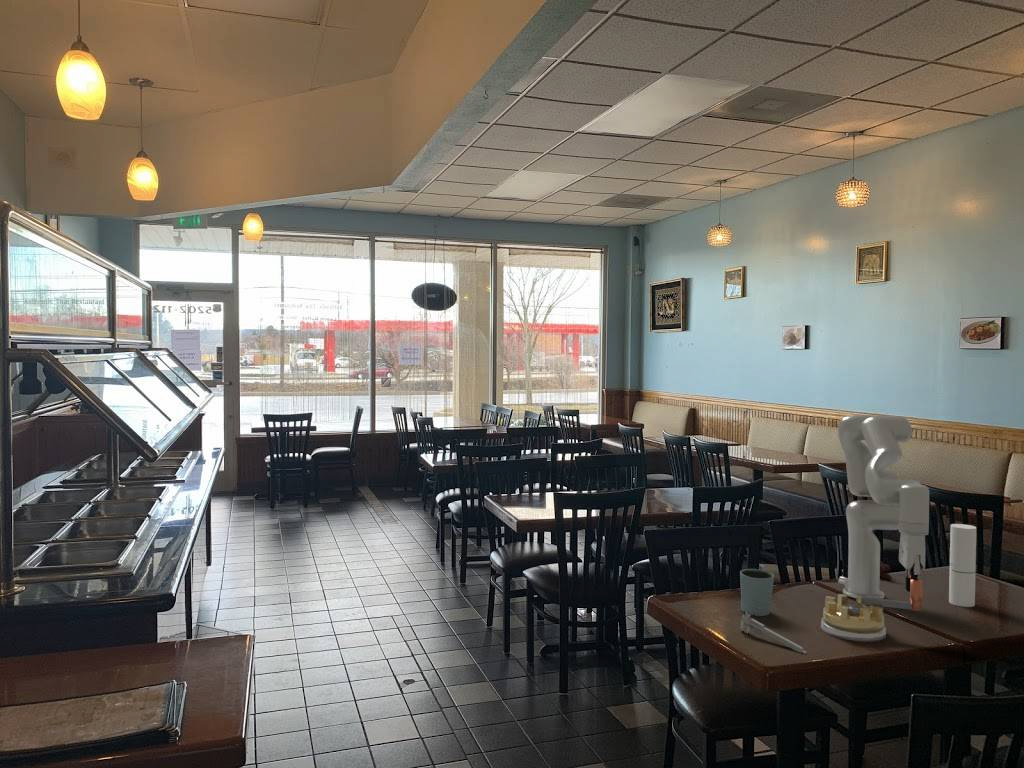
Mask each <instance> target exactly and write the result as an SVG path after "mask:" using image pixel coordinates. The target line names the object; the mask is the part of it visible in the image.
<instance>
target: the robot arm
mask: <svg viewBox="0 0 1024 768" xmlns="http://www.w3.org/2000/svg"><path fill="white" fill-rule="evenodd" d="M911 424H912V423H910V421H909V420H908V419H907V418H906V417H905V416H901V415H896V416H895V415H888V414H887V415H886V414H885V415H884V414H881V415H877V414H876V415H875V414H871V415H870V414H852V415H846V416H843V417H842V418H841V419H840V421H839V423H838V427H837V431H838V432H837V434H838V439H839V443H840V445H841V447H842V450H843V453H844V456H845V465H846V466H845V468H846V477H847V485H848V486H847V487H848V490H849V492H850V493H851V494H852V495H854V496H857V497H870V498H871V499H872V500H870V499H869V500H867V499H866V500H865V499H861V500H860V499H859V500H854V501H851V502H850V503H848V504H847V506H846V508H845V516H846V522H847V530H848V557H847V558H848V561H847V562H848V565H847V568H848V569H847V576H848V577H846V576H842V575H841V576H839V578H838V580H837V583H838V584H841V585H844V587H843V588H842V594H844V595H846V596H847V597H850V598H853V599H856V598H857V597H858V596H863V597H869V598H879V599H885V593H884V592H883V591H882V590H880V576H881V575H880V561H881V542H880V541H879V539H878V537H877V536H876V535H875V534H874V532H873V531H877V530H880V531H884V530H885V531H897V530H898V532H899V533H900V536H899V538H900V539H899V551H898V561H899V563H900V564H901V565H902V566H903V567H904V569H905V587H904V589H905V590H906V592H908V593H910V579H912V578H915V579H920V575H921V571H923V570H925V568H926V536H929V531H930V530H929V529H930V528H929V526H930V525H929V523H930V518H929V517H930V489H929V487H928V486H927V485H924V484H922V483H920V482H919V481H917V480H915V479H900V476H899V475H898V473H897V472H896V471H895V470H894V469H891V468H889V467H891V466H895V465H896V464H897V463H898V462H899V461H900V460H901V459H902V457H903V451H902V449H901V447H900V445H899V443H903V444H904V443H907V442H909V441H910V440H911V439H912V437H913V428H912V425H911ZM862 441H865V443H866V444H865V443H864V442H862Z"/></svg>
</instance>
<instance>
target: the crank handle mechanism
mask: <svg viewBox="0 0 1024 768" xmlns="http://www.w3.org/2000/svg"><path fill="white" fill-rule="evenodd" d="M923 582H924V581H923V580H922V579H920V578H919V579H915V578H912V579H910V592H909V601H907V600H896V599H888V598H883V599H879V598H869V597H863V596H858V597H857V598H855V600H856V601H855V602H856V604H854V603H849V602H848V599H849V598H848V597H849V596H847V595H845V594H844V593H838V594H837V598H836V597H834V596H829V595H826V596H825V597H824V607H823V608H822V612H823V613H822V618H823V621H824V622H825V623H826V624H828V625H830V626H832V627H834V628H837V629H841V630H845V631H850V632H858V633H874V632H879V631H882V630H883V629H884V626H885V615H884V608H893V609H904V610H911V611H912V610H913V611H917V612H919V611H922V610H923ZM836 600H837V601H836ZM867 606H869V607H867Z"/></svg>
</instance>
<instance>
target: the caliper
mask: <svg viewBox="0 0 1024 768" xmlns="http://www.w3.org/2000/svg"><path fill="white" fill-rule="evenodd" d="M751 616H752V615H751V614H748V612H745V613H744V614H743V615H741V618H740V619H741V620H740V632H741V631H744V632H745V634H746V633H747V634H746V635H749V634H750V633H751V631H752V630H753V631H754V632H756V633H758V634H759V635H763V634H765V635H766V636H768V637H769V638H772V639H774V640H775V641H777V642H779V643H780V644H782V645H785V646H786V647H787V648H790V649H792V650H793V651H794V652H798V653H800V654H801V653H802V654H803V655H806V654H808V652H807V650H805V649H804V647H803V646H801V645H799V644H797V643H795V642H794V641H791V640H790V639H788V638H786V637H784V636H782V635H780V634H779V633H776V632H775V631H773V630H771V629H770V628H768V627H766V626H765V624H763V623H761V622H759V621H758V620H756V619H755V618H752V617H751ZM746 625H747V627H746ZM745 630H746V631H745ZM748 633H749V634H748Z"/></svg>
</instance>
